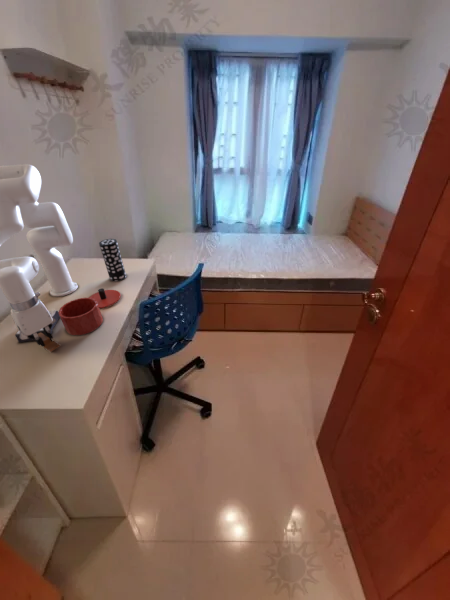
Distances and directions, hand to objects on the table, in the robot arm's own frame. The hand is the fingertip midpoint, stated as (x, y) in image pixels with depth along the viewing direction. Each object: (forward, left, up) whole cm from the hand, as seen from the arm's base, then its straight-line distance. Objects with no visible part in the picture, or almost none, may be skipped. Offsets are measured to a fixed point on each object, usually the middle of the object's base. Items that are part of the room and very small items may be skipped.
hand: (46, 342), depth 104 cm
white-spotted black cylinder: (-20, +49, -2) cm, 53 cm away
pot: (0, +15, -2) cm, 16 cm away
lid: (-8, +31, -1) cm, 32 cm away
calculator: (-13, +4, -2) cm, 14 cm away
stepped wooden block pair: (+1, 0, 0) cm, 1 cm away
